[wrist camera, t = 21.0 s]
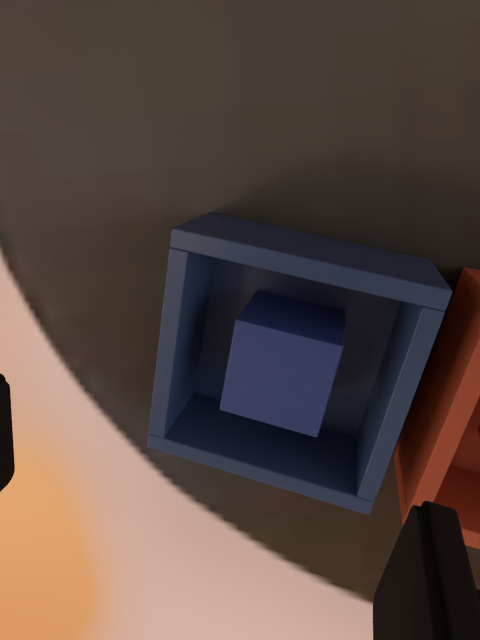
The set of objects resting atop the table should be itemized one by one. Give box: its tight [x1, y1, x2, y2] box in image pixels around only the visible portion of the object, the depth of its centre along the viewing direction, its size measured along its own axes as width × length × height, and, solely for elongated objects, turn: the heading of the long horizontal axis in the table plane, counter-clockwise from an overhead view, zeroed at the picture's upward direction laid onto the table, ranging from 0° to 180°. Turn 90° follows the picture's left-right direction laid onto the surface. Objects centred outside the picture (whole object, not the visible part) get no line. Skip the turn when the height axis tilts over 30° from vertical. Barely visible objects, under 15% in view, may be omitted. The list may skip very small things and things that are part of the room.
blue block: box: [220, 290, 345, 437], centre depth 21 cm, size 4×4×4 cm
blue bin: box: [147, 212, 452, 515], centre depth 21 cm, size 11×11×5 cm
